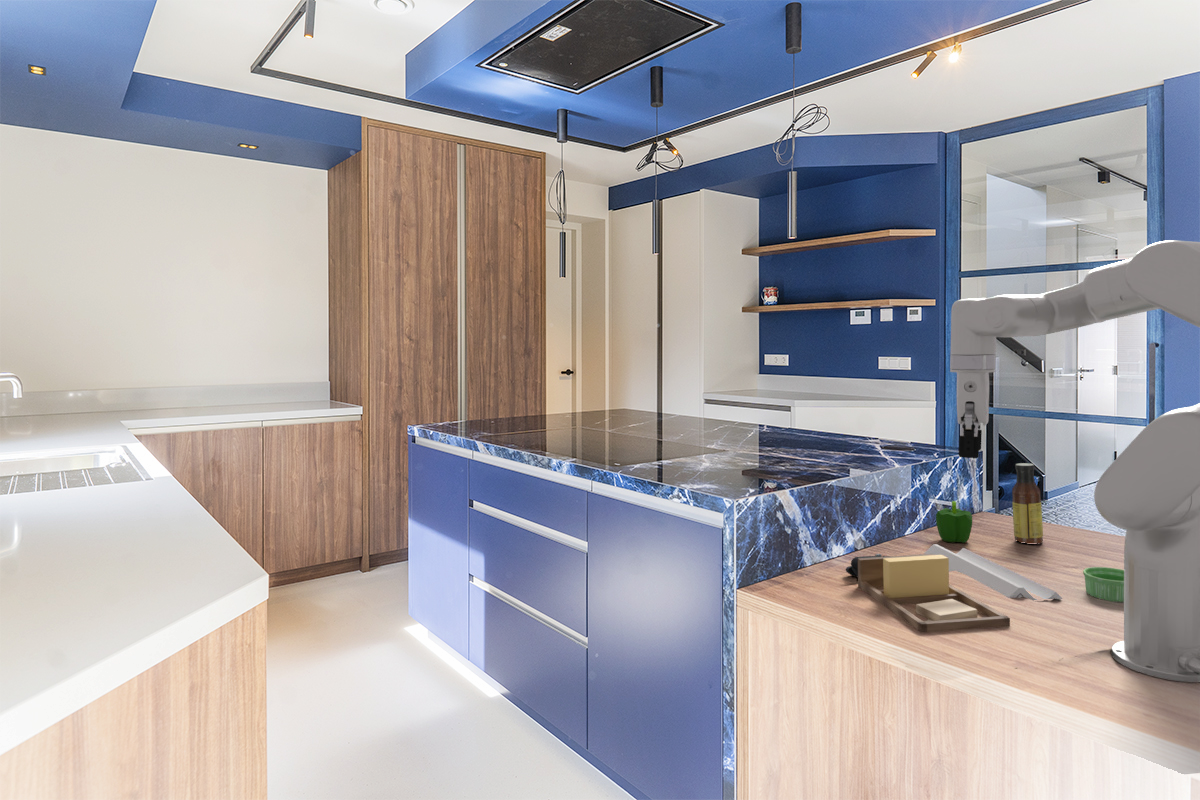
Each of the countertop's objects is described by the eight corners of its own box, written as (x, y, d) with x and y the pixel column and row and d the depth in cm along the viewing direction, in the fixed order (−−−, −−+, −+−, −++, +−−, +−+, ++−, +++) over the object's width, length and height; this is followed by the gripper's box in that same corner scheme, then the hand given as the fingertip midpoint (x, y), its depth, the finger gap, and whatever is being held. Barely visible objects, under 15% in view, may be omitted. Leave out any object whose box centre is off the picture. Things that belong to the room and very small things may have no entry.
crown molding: (1061, 603, 131) (1061, 585, 131) (1001, 607, 131) (1001, 589, 131) (967, 556, 162) (967, 542, 162) (919, 559, 162) (918, 545, 162)
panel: (949, 603, 132) (948, 558, 132) (889, 607, 132) (889, 561, 131) (942, 599, 135) (941, 554, 134) (883, 603, 134) (883, 558, 133)
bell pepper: (966, 547, 168) (965, 507, 168) (931, 541, 174) (931, 503, 174) (978, 540, 174) (977, 501, 173) (944, 535, 180) (943, 498, 179)
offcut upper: (977, 618, 122) (977, 609, 121) (940, 624, 120) (940, 615, 119) (952, 607, 127) (952, 598, 127) (916, 612, 125) (916, 604, 125)
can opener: (855, 585, 145) (854, 559, 145) (843, 575, 152) (842, 550, 152) (937, 581, 145) (937, 556, 145) (921, 571, 152) (921, 547, 152)
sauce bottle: (1042, 540, 171) (1042, 462, 170) (1043, 546, 166) (1043, 466, 165) (1012, 537, 175) (1011, 461, 173) (1012, 544, 169) (1011, 465, 168)
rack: (1009, 631, 118) (1009, 592, 117) (921, 638, 117) (920, 598, 116) (932, 586, 142) (931, 553, 141) (858, 591, 141) (857, 558, 140)
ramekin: (1099, 603, 129) (1099, 581, 129) (1073, 587, 138) (1073, 566, 138) (1151, 604, 128) (1151, 581, 127) (1121, 588, 137) (1121, 566, 136)
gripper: (993, 366, 119) (991, 462, 120) (996, 362, 133) (994, 447, 135) (946, 366, 123) (944, 459, 124) (953, 362, 137) (952, 445, 139)
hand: (970, 453), depth 130 cm, fingers open, 9 cm apart
